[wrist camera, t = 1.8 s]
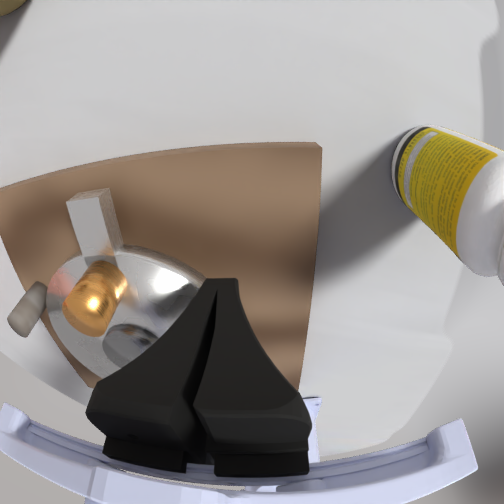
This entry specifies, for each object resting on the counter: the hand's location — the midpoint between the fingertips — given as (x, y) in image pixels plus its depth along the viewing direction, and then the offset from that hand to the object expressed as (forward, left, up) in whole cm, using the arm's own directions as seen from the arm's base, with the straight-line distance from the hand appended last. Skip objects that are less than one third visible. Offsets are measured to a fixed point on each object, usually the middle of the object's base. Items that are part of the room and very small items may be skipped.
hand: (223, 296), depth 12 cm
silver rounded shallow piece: (-4, +6, -3) cm, 8 cm away
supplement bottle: (+4, -12, -5) cm, 13 cm away
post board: (-6, +6, -5) cm, 10 cm away
